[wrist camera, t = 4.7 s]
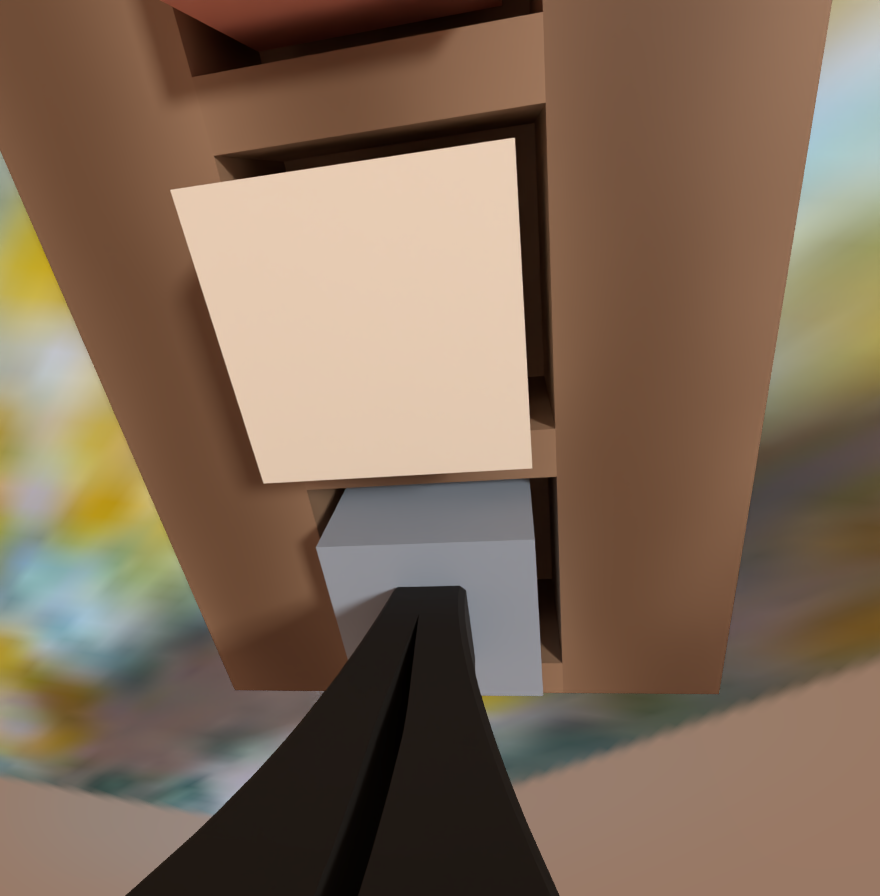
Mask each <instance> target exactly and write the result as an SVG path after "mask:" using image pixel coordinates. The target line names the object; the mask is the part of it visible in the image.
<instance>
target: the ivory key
mask: <svg viewBox="0 0 880 896" xmlns="http://www.w3.org/2000/svg"><path fill="white" fill-rule="evenodd" d="M170 191H171V194H172V197H173V201H174V204H175V207H176V210H177V213H178V216H179V219H180V223H181V226H182V229H183V232H184V235H185V238H186V241H187V245H188V248H189V251H190V254H191V257H192V260H193V263H194V267H195V270H196V273H197V276H198V279H199V282H200V285H201V289H202V292H203V295H204V298H205V301H206V304H207V307H208V311H209V314H210V317H211V320H212V323H213V326H214V329H215V333H216V336H217V339H218V342H219V345H220V348H221V351H222V355H223V358H224V361H225V364H226V367H227V370H228V373H229V377H230V380H231V383H232V386H233V389H234V392H235V395H236V399H237V402H238V405H239V408H240V411H241V414H242V417H243V421H244V424H245V427H246V430H247V433H248V436H249V439H250V443H251V446H252V449H253V452H254V455H255V458H256V461H257V465H258V468H259V471H260V474H261V477H262V480H263V483H282V482H300V481H317V480H335V479H353V478H371V477H389V476H407V475H424V474H442V473H460V472H478V471H496V470H513V469H531V468H532V452H531V433H530V414H529V395H528V376H527V358H526V339H525V320H524V301H523V282H522V263H521V245H520V226H519V207H518V188H517V169H516V150H515V138H509V139H502V140H496V141H489V142H483V143H476V144H469V145H463V146H456V147H450V148H443V149H436V150H430V151H423V152H417V153H410V154H403V155H397V156H390V157H384V158H377V159H370V160H364V161H357V162H351V163H344V164H337V165H331V166H324V167H318V168H311V169H304V170H298V171H291V172H285V173H278V174H271V175H265V176H258V177H252V178H245V179H238V180H232V181H225V182H219V183H212V184H205V185H199V186H192V187H186V188H179V189H173V190H170Z"/></svg>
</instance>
